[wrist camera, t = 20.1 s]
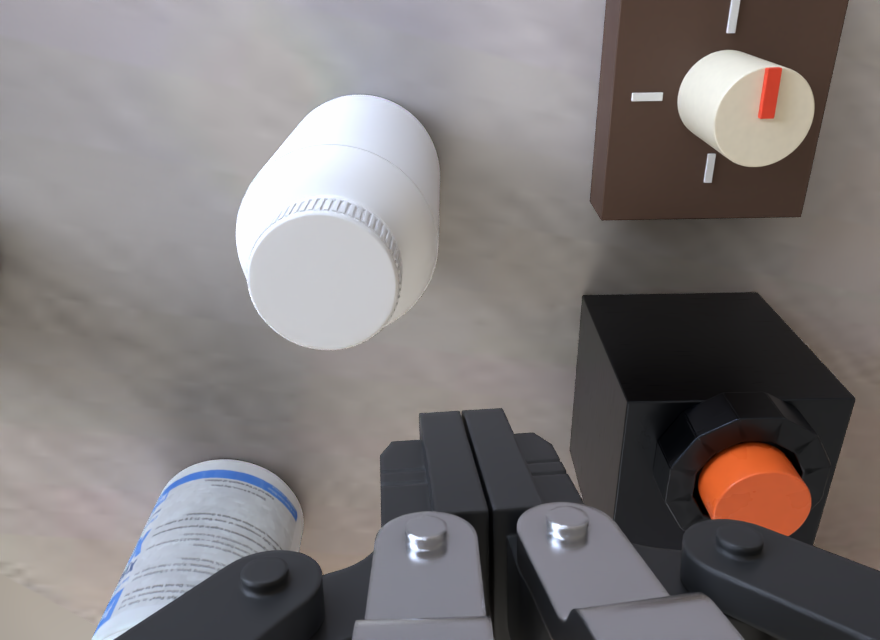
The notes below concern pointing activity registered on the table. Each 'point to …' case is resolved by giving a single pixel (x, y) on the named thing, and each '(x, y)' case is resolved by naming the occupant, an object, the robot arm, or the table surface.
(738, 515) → the orange push button
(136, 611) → the supplement tub
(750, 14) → the plate
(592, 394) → the button housing
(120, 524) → the table surface
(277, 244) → the pill bottle
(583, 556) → the robot arm
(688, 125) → the dial
